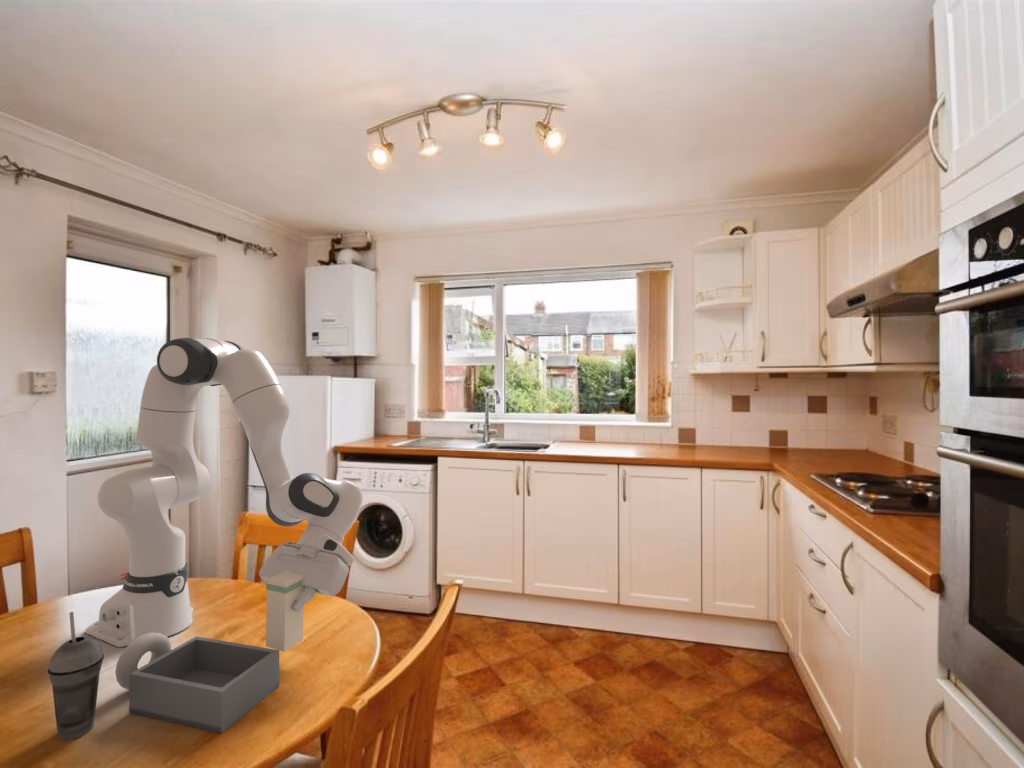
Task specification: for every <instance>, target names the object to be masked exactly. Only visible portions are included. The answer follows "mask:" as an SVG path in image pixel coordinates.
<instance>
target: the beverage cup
mask: <svg viewBox="0 0 1024 768" xmlns="http://www.w3.org/2000/svg"><path fill="white" fill-rule="evenodd" d="M68 614H69V626H70V635H71V639H68V640H67V641H65V642H63V643H62V644H61V645H60V646H59V647H58V648H57V649H56V650H55V652H53V655H52V656H51V658H50V659H51V660H50V661H49V665H48V668H47V673H48V676H49V680H50V683H51V686H52V687H51V689H52V695H53V697H52V698H53V706H54V715H55V716H54V717H55V724H56V730H57V734H58V736H57V737H58V739H59V740H61V741H71V740H74V739H77V738H79V737H82V736H85V735H86V734H88V733H89V732H90V731H91V730H92V729H93V727H94V720H95V716H96V709H97V699H98V690H99V683H100V682H99V681H100V673H101V670H102V666H103V661H104V657H105V653H104V651H103V650H104V649H103V648H102V646H101V644H100V643H99V641H97V640H96V638H94V637H89V636H78V637H76V627H75V617H74V615H75V614H74V611H71V612H69V613H68Z"/></svg>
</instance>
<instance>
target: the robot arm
mask: <svg viewBox="0 0 1024 768" xmlns="http://www.w3.org/2000/svg"><path fill="white" fill-rule="evenodd" d="M157 353H158V354H157V356H156V364H155V365H153V366H152V367H151V368H150V371H149V372H148V375H147V377H146V379H145V380H146V381H145V383H144V387H143V391H142V395H141V400H140V401H141V402H140V407H139V414H138V422H137V423H138V424H137V431H136V439H137V441H138V442H139V444H140V445H142V446H143V447H144V448H146V449H147V450H149V451H150V453H151V456H152V465H150V466H145V467H140V468H134V469H128V470H125V471H124V472H120V473H117V474H116V475H114V476H111V477H108V478H106V480H104V481H103V482H102V484H101V486H100V487H99V490H98V493H97V503H98V506H99V509H100V510H101V511H102V513H103V514H104V515H106V516H107V517H108V518H110V519H111V520H114V521H115V522H117V523H118V524H119V525H120V526H121V528H122V529H123V531H124V533H125V536H126V538H127V545H128V560H129V565H128V566H129V568H128V569H129V571H128V572H126V573H123V574H121V575H119V576H120V577H121V578H120V579H119V580H121V581H122V580H124V583H123V585H122V588H121V589H119V590H118V591H117V592H116V593H114V594H113V595H112V596H110V597H109V598H108V599H107V600H105V601H104V603H102V604H101V606H100V609H99V615H98V620H95V622H93V623H91V624H90V625H89V626H87V627H86V628H85V632H86V633H87V634H86V633H85V634H86V635H88V634H89V635H88V636H90V635H92V636H91V637H93V636H94V637H93V638H95V637H96V638H95V639H98V638H99V639H98V640H100V639H101V641H103V640H104V641H103V642H105V641H106V643H107V642H108V643H107V644H110V645H112V646H115V647H117V648H121V647H127V646H128V645H129V644H130V643H131V642H133V641H134V640H135V639H137V638H138V637H140V636H142V635H144V634H148V633H161V634H163V635H165V636H167V637H171V636H172V635H173V636H174V635H176V634H177V633H180V632H182V631H184V630H185V629H187V628H188V627H189V626H190V625H192V623H193V621H194V617H193V613H194V608H193V607H192V606H191V599H190V592H189V591H190V588H189V584H188V581H187V580H188V572H189V569H188V563H186V539H187V538H186V533H185V532H184V531H183V529H181V528H180V527H178V526H176V525H174V524H171V521H170V519H169V515H168V514H169V513H168V511H169V510H170V509H173V508H174V509H175V508H177V507H181V506H184V505H188V504H190V503H191V502H192V503H193V502H194V501H196V500H197V499H199V498H201V497H203V496H204V495H205V494H207V492H208V491H209V489H210V486H211V475H210V472H209V470H208V468H207V467H206V466H205V465H204V464H203V463H201V462H200V461H199V459H198V457H197V455H196V452H195V450H196V449H195V445H194V429H195V419H196V411H197V400H198V395H199V392H200V391H201V389H203V388H204V387H206V386H210V387H215V386H223V387H224V389H225V390H226V392H227V394H228V395H229V399H230V401H231V403H232V405H233V407H234V410H235V412H236V414H237V416H238V419H239V421H240V422H241V425H242V427H243V429H244V432H245V435H246V438H247V440H248V443H249V446H250V450H251V453H252V456H253V459H254V461H255V464H256V467H257V469H258V472H259V475H260V478H261V481H262V483H263V485H264V489H265V510H266V513H267V515H268V517H269V519H270V520H271V521H272V522H273V523H275V524H276V525H278V526H281V527H288V528H289V527H294V526H298V525H299V524H301V523H302V522H303V521H306V522H307V526H306V527H305V529H304V530H303V533H302V534H301V536H300V537H299V540H298V541H297V542H292V541H286V542H285V543H284V542H283V543H282V544H279V545H278V546H277V548H276V549H275V550H273V552H272V553H271V554H270V555H269V556H268V558H267V559H266V560H265V562H264V563H263V564H262V566H261V567H260V568H259V577H260V578H262V580H264V581H265V582H267V579H269V578H271V577H273V576H276V575H278V574H280V573H283V572H285V571H288V572H293V573H298V574H303V575H304V578H303V580H302V583H301V585H302V586H304V591H303V592H304V594H303V595H302V596H301V597H300V598H299V599H298V600H294V602H293V604H292V605H291V609H292V610H293V611H297V612H300V611H301V609H302V608H303V609H304V607H305V605H306V604H307V603H309V601H311V600H312V599H313V598H314V597H315V595H316V594H321V595H324V596H329V597H335V596H336V595H337V594H339V593H340V591H341V589H342V588H343V586H344V584H345V582H346V580H347V576H348V574H349V570H350V568H349V567H350V566H351V565H352V564H353V562H354V560H355V558H354V557H353V555H352V553H351V552H350V551H348V549H347V548H346V547H345V546H343V542H344V538H345V535H346V533H347V532H348V531H349V530H350V529H351V528H352V526H353V524H354V522H355V520H356V518H357V517H358V514H359V512H360V509H361V507H362V505H363V504H362V503H363V493H362V491H361V489H359V487H358V486H357V485H356V484H355V483H353V482H352V481H349V480H346V479H329V478H325V477H322V476H320V475H319V474H316V473H312V472H306V473H305V472H304V473H300V474H299V475H297V476H295V477H293V476H292V473H291V470H290V468H289V465H288V462H287V459H286V457H285V454H284V451H283V447H282V437H283V434H284V430H285V427H286V424H287V422H288V420H289V417H290V412H291V409H290V405H289V400H288V395H287V394H286V392H285V390H284V388H283V386H282V383H281V381H280V380H279V377H278V376H277V373H276V372H275V370H274V369H273V367H272V365H271V364H270V363H269V361H268V360H267V359H266V357H265V356H264V355H263V353H261V352H260V351H258V350H256V349H253V348H244V347H242V346H241V345H239V344H237V343H235V342H232V341H229V340H221V339H215V338H209V337H207V338H191V337H179V338H175V339H171V340H169V341H167V342H165V343H164V344H163V345H162V346H161V347H160V348H159V351H158V352H157Z"/></svg>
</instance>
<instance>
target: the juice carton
mask: <svg viewBox="0 0 1024 768" xmlns="http://www.w3.org/2000/svg"><path fill="white" fill-rule="evenodd" d="M303 578H304V575H303V574H298V573H293V572H288V571H285V572H283V573H280V574H278V575H276V576H273V577H271V578H269V579H267V581H266V585H265V586H266V587H265V588H266V589H265V590H266V619H265V620H266V622H265V623H266V625H265V626H266V627H265V629H266V630H265V631H266V632H265V648H266V647H267V648H269V649H275V650H279V652H284V653H285V652H286V651H287V650H290V649H291V648H292V647H294V646H295V645H297V644H299V643H301V642H303V639H304V637H303V634H304V633H303V632H304V607H303V608H302V609H301V611H300V612H297V611H293V610H292V609H291V605H292V604H293V602H294V600H298V599H299V598H300V597H301V596H302V595H303V594H304V592H303V591H304V586H302V585H301V583H302V580H303Z"/></svg>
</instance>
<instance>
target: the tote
mask: <svg viewBox="0 0 1024 768" xmlns="http://www.w3.org/2000/svg"><path fill="white" fill-rule="evenodd" d="M279 687H280V650H277V649H273V648H270V647H267V648H266V647H262V646H255V645H249V644H244V643H238V642H232V641H225V640H220V639H215V638H209V637H208V638H207V637H203V636H195V637H193V638H191V639H189V640H187V641H186V642H184V643H181V644H180V645H178V646H176V647H175V648H173V649H172V650H171V651H169V652H168V653H166V654H164V655H162V656H160V657H159V658H157V659H155V660H153V661H152V662H150V663H149V662H148V663H146V664H145V665H143V666H141V667H138V669H137V670H135V671H134V672H132V673H130V677H129V694H128V697H129V698H128V699H129V701H128V702H129V703H128V707H129V708H128V714H133V715H137V716H141V717H145V718H151V719H153V720H160V721H163V722H167V723H172V724H177V725H181V726H186V727H190V728H194V729H195V728H196V729H199V730H203V731H208V732H213V733H217V734H223V733H224V732H225V731H227V730H228V729H229V728H230V727H231V726H233V725H234V724H235V723H236V722H238V721H239V720H240V719H241V718H242V717H244V716H245V715H246V714H247V713H249V712H250V711H251V710H252V709H253V708H255V707H256V706H257V705H258V704H260V703H261V702H262V701H263V700H264V699H265V698H267V697H268V696H269V695H270V694H271V693H272V692H274V691H275V690H276V689H278V688H279Z"/></svg>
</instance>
